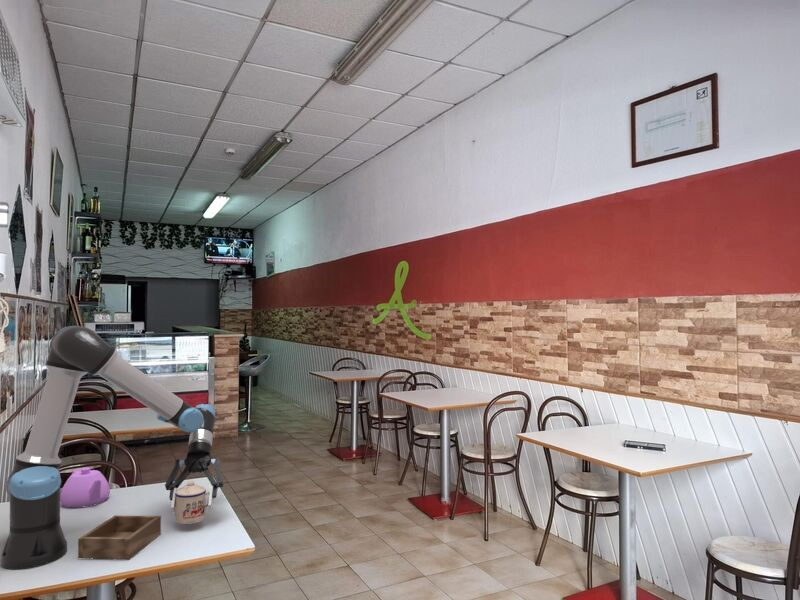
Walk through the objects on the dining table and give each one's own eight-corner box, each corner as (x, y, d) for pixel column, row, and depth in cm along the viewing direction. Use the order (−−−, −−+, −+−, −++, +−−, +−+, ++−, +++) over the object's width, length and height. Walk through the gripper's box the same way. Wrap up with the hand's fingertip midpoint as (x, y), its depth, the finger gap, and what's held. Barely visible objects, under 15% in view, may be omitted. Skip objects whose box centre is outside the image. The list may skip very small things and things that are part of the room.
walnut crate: (78, 558, 150) (78, 538, 150) (114, 533, 167) (114, 515, 167) (129, 559, 149) (129, 539, 149) (160, 534, 166) (160, 515, 167)
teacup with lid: (182, 527, 166) (182, 488, 166) (170, 519, 173) (170, 481, 173) (219, 517, 174) (219, 480, 175) (207, 510, 181) (207, 474, 181)
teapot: (49, 501, 198) (49, 467, 198) (95, 490, 210) (95, 458, 210) (74, 514, 184) (74, 478, 184) (121, 502, 196) (121, 468, 197)
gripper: (235, 450, 191) (230, 511, 175) (165, 453, 187) (154, 516, 171) (234, 438, 186) (228, 500, 170) (162, 441, 182) (150, 505, 166)
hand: (191, 508), depth 171 cm, fingers closed on teacup with lid, 10 cm apart
